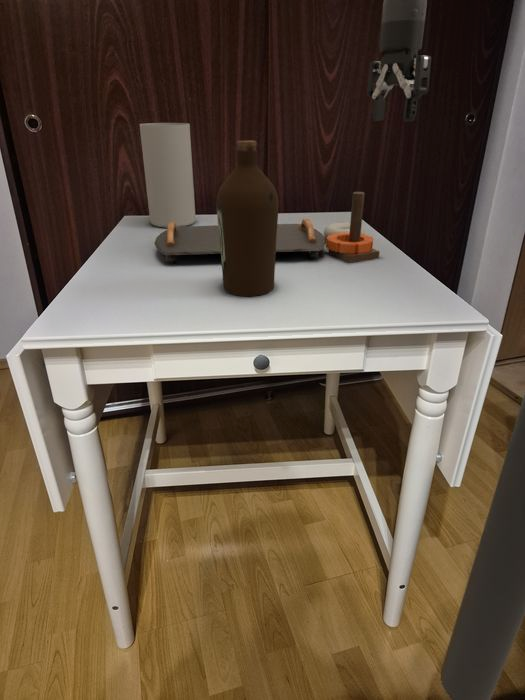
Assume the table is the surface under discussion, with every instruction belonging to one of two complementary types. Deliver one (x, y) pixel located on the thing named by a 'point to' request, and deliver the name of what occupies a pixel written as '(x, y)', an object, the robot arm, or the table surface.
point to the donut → (338, 229)
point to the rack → (356, 232)
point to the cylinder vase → (168, 173)
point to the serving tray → (208, 240)
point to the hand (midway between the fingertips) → (392, 121)
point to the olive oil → (247, 226)
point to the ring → (349, 243)
